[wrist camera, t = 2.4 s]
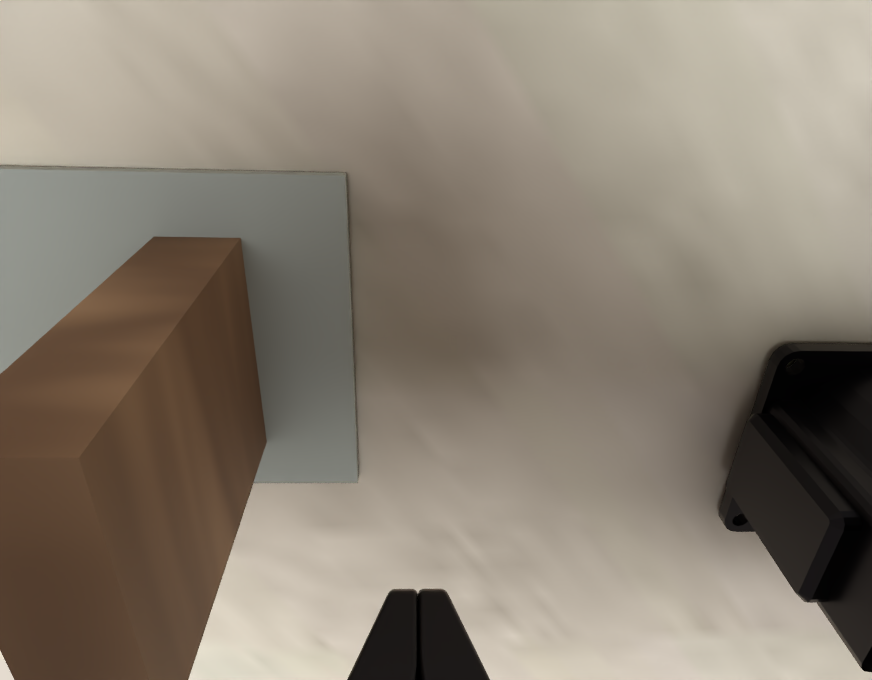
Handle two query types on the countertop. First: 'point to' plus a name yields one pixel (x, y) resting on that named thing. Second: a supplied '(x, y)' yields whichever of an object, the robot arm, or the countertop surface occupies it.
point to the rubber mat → (264, 269)
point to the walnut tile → (128, 467)
